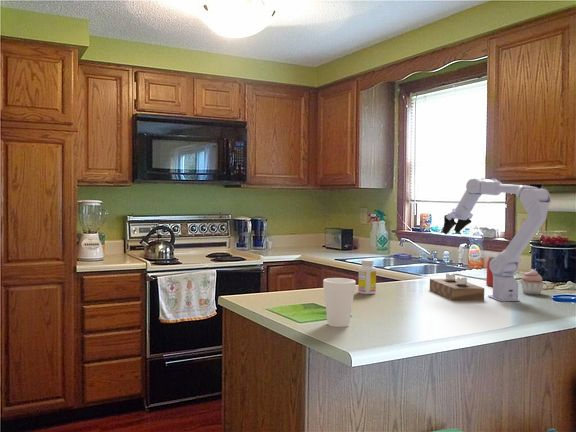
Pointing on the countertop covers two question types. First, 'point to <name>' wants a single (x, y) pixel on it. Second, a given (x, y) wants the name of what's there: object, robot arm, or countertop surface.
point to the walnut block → (456, 290)
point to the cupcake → (532, 283)
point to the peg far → (450, 277)
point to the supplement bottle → (367, 277)
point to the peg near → (462, 281)
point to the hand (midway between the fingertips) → (450, 232)
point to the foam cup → (339, 300)
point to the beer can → (489, 273)
